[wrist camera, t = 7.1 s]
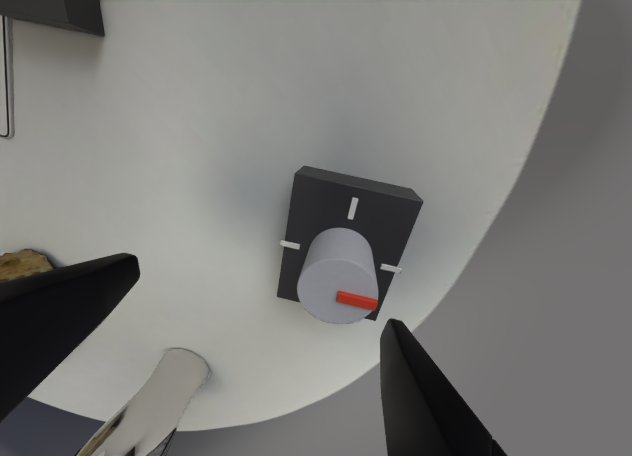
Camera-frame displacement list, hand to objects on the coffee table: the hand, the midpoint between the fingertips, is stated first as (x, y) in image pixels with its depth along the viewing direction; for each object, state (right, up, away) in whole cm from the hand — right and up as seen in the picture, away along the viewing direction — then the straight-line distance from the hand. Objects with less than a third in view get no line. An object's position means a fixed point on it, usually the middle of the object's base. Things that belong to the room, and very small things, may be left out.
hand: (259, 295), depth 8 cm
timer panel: (+4, +2, +11) cm, 12 cm away
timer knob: (+4, 0, +8) cm, 9 cm away
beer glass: (-14, -15, +21) cm, 29 cm away
